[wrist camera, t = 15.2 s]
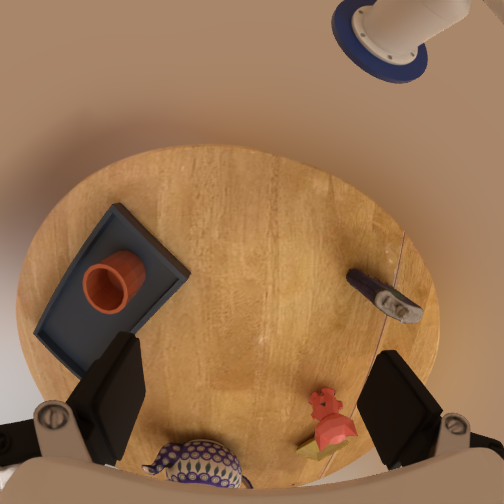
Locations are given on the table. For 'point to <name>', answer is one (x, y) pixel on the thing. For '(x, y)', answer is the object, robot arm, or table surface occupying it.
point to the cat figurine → (330, 419)
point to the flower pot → (114, 281)
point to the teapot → (199, 464)
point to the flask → (385, 297)
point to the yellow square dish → (313, 451)
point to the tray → (90, 319)
